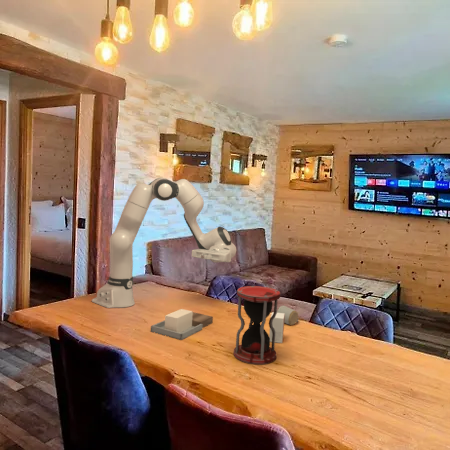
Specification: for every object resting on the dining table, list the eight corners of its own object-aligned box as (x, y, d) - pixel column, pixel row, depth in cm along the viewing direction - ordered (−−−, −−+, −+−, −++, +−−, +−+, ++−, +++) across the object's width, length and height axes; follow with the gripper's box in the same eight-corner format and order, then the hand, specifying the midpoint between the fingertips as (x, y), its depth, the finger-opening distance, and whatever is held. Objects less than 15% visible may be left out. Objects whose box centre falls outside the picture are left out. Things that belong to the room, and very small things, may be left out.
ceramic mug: (289, 327, 192) (290, 310, 192) (275, 322, 198) (276, 306, 198) (302, 323, 200) (303, 307, 199) (288, 318, 206) (290, 303, 205)
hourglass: (240, 366, 148) (245, 297, 145) (228, 348, 163) (232, 285, 161) (283, 363, 152) (287, 296, 150) (267, 346, 168) (271, 285, 165)
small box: (282, 343, 172) (284, 318, 171) (268, 341, 173) (270, 317, 172) (283, 336, 179) (285, 313, 178) (270, 335, 180) (272, 311, 179)
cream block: (180, 324, 187) (164, 331, 177) (181, 308, 186) (165, 315, 176) (191, 326, 184) (176, 334, 174) (192, 311, 184) (176, 318, 173)
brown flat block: (175, 322, 190) (175, 316, 190) (187, 317, 199) (187, 310, 199) (200, 328, 184) (201, 322, 183) (212, 323, 192) (212, 316, 192)
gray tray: (150, 331, 177) (150, 325, 177) (172, 322, 191) (172, 316, 190) (181, 340, 169) (181, 334, 169) (202, 329, 183) (202, 324, 183)
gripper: (200, 245, 221) (185, 248, 209) (234, 250, 211) (220, 253, 199) (199, 257, 221) (184, 260, 209) (233, 262, 211) (219, 266, 199)
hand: (202, 257), depth 204 cm, fingers closed
